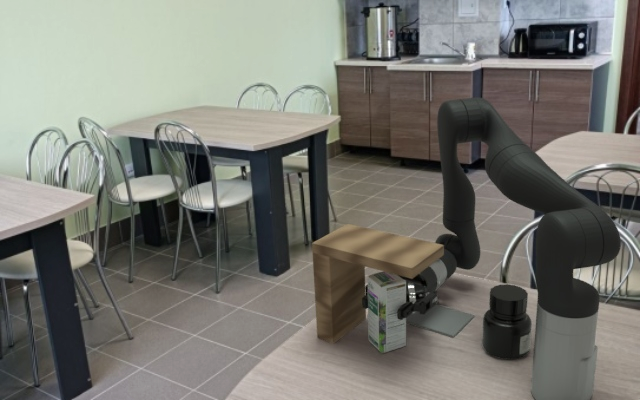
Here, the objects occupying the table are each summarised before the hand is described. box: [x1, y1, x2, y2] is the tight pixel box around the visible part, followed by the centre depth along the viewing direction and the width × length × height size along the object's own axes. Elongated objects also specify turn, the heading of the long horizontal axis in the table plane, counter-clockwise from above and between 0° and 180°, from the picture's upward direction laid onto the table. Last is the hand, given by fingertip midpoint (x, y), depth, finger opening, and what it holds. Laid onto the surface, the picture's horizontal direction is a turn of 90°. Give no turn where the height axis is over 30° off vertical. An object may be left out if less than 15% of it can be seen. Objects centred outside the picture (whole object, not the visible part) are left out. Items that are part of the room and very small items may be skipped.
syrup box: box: [367, 271, 407, 354], centre depth 122 cm, size 6×6×14 cm
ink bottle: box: [481, 284, 533, 360], centre depth 118 cm, size 10×9×12 cm
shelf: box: [311, 223, 444, 344], centre depth 122 cm, size 22×12×21 cm, turn 53°
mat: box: [406, 303, 476, 338], centre depth 134 cm, size 20×10×1 cm, turn 53°
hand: (381, 309), depth 120 cm, fingers closed on syrup box, 7 cm apart
